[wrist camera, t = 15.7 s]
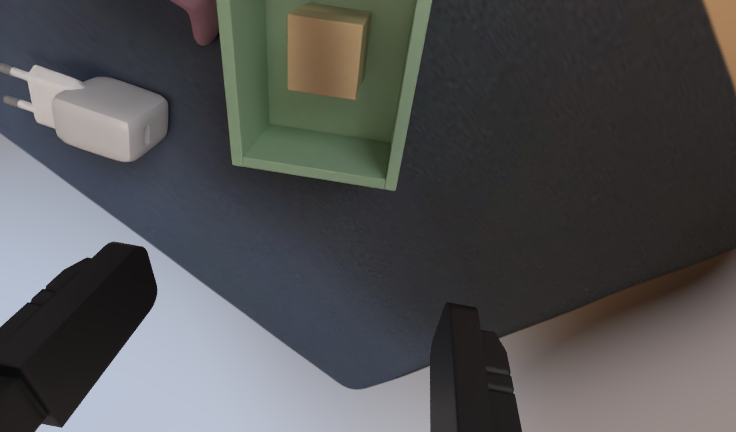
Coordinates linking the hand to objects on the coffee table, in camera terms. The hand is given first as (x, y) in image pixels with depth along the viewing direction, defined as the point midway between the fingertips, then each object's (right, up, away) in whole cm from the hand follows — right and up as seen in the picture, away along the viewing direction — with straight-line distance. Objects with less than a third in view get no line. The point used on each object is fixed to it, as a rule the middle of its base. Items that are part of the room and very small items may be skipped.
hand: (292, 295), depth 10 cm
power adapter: (-20, +12, +22) cm, 32 cm away
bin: (0, +15, +17) cm, 23 cm away
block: (0, +14, +17) cm, 22 cm away
